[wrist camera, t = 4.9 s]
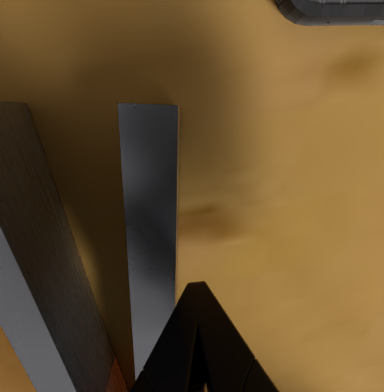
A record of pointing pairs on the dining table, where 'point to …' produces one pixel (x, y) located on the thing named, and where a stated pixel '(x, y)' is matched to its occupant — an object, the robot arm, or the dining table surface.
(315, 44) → the dining table surface
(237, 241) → the dining table surface
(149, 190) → the arm
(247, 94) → the dining table surface
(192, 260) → the dining table surface
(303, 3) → the phone
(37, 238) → the bar
